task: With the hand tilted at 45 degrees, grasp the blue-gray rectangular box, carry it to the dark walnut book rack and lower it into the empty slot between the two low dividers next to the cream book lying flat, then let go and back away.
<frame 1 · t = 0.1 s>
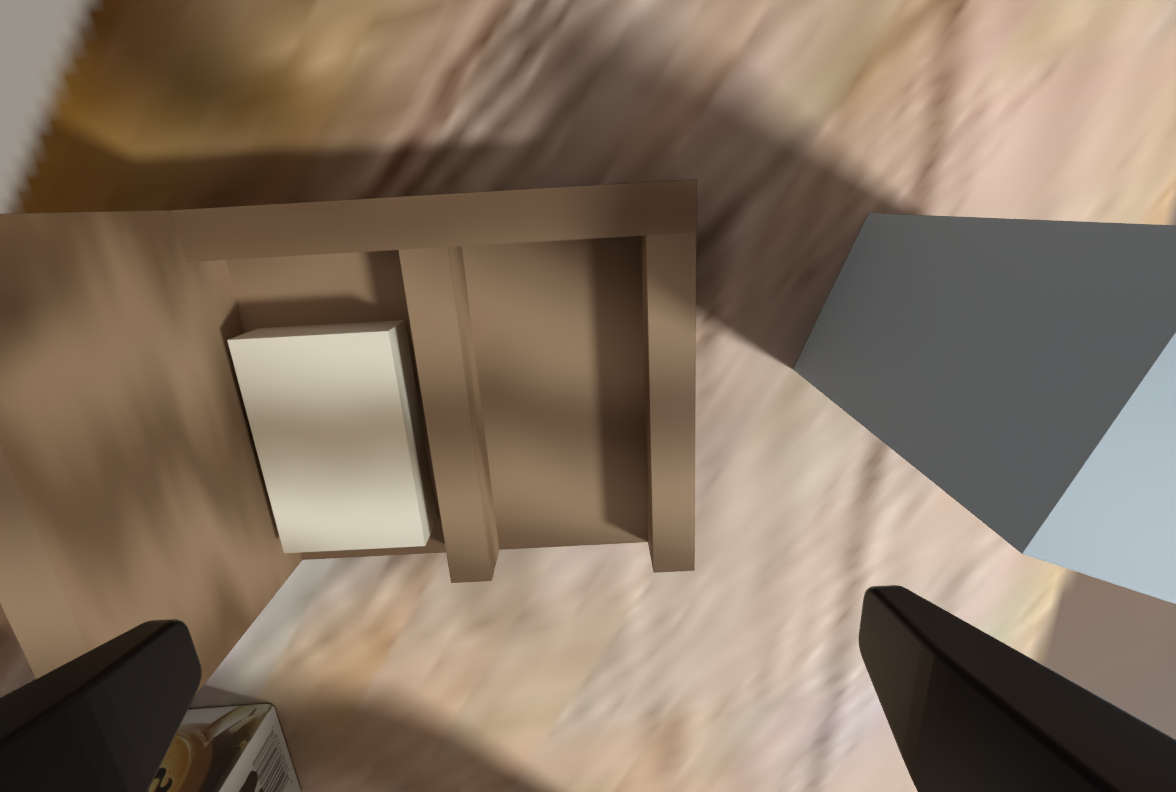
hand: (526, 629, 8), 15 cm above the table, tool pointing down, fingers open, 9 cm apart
book rack: (564, 409, 22), on the table
blue-gray rectangular box: (883, 314, 21), on the table
coffee box: (203, 752, 28), on the table
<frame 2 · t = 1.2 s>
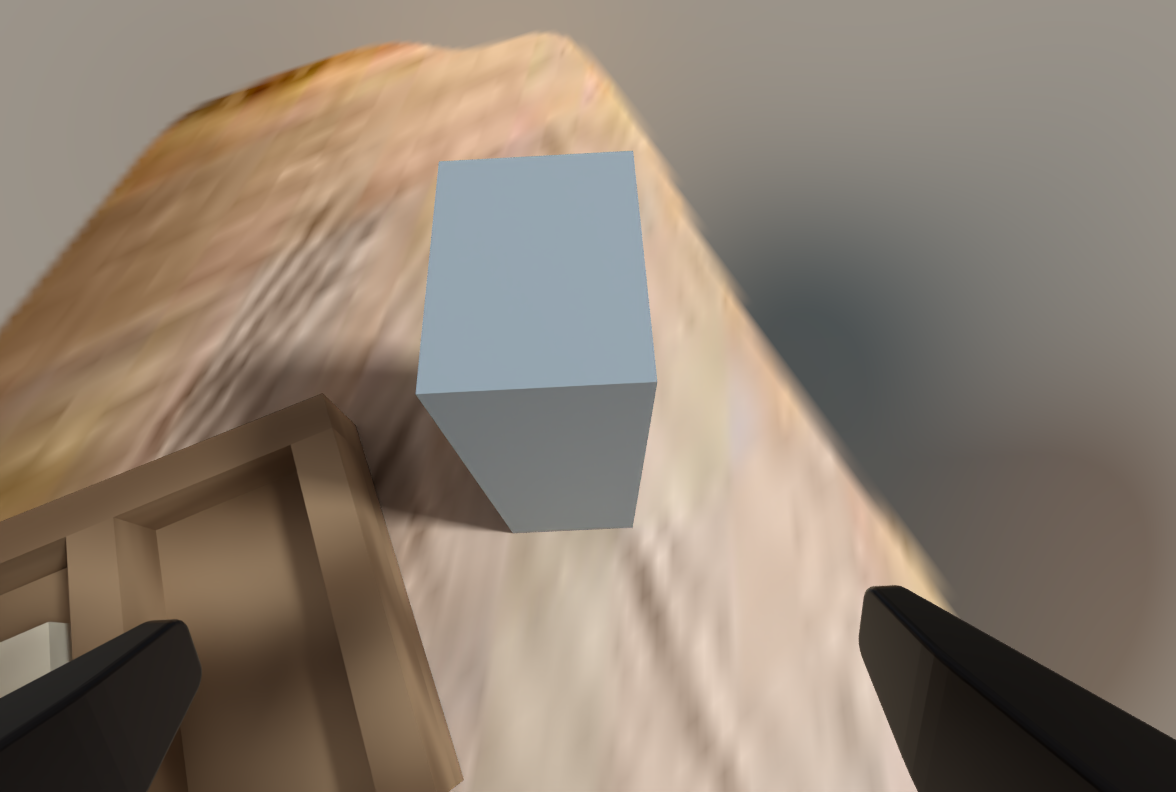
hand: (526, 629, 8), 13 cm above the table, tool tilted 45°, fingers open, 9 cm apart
book rack: (287, 671, 20), on the table
blue-gray rectangular box: (570, 454, 23), on the table
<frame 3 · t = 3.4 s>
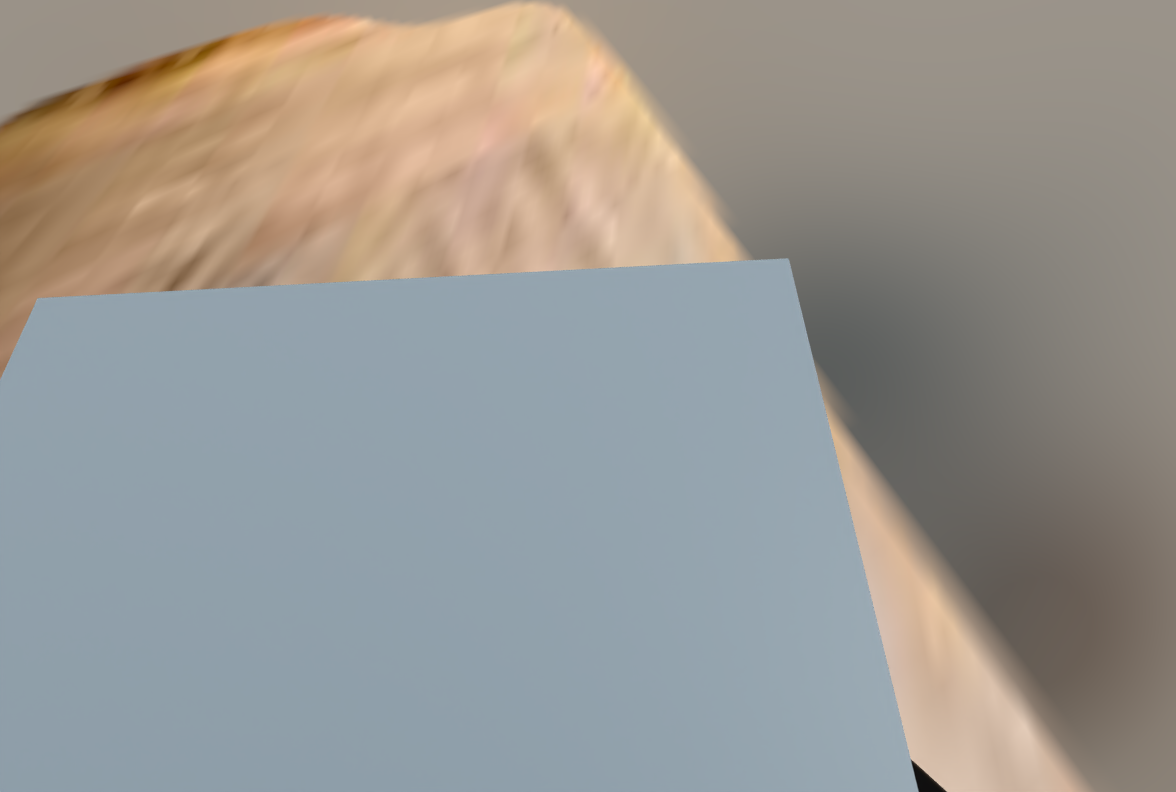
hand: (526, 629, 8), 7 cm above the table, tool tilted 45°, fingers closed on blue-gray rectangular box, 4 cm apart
blue-gray rectangular box: (563, 714, 13), on the table, touching gripper
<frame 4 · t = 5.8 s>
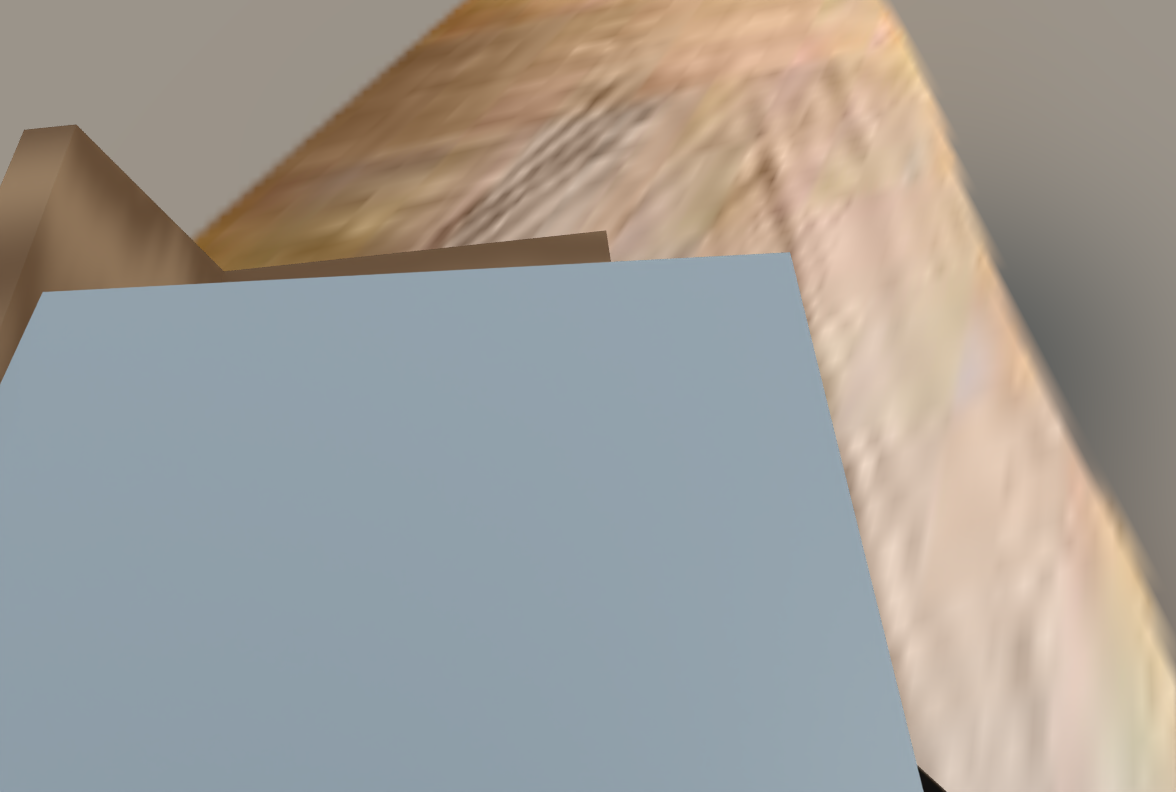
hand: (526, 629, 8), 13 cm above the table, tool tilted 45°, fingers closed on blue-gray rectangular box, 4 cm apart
book rack: (517, 452, 23), on the table
blue-gray rectangular box: (564, 713, 13), point 7 cm above the table, touching gripper
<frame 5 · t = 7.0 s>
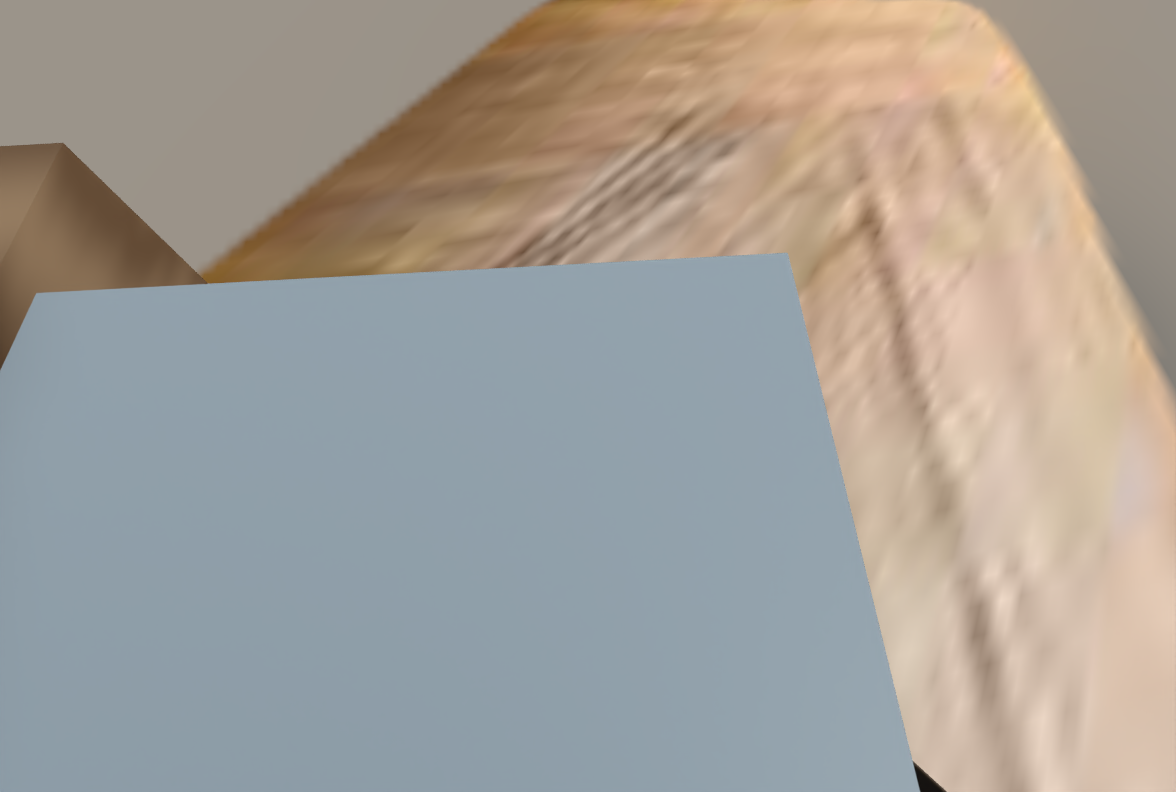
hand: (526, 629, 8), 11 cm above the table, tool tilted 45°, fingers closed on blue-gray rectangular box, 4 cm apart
book rack: (570, 552, 19), on the table
blue-gray rectangular box: (563, 714, 13), point 4 cm above the table, touching gripper
when the fingers open (8 cm above the table, at t = 8.2 s): blue-gray rectangular box stays where it is, resting on book rack.
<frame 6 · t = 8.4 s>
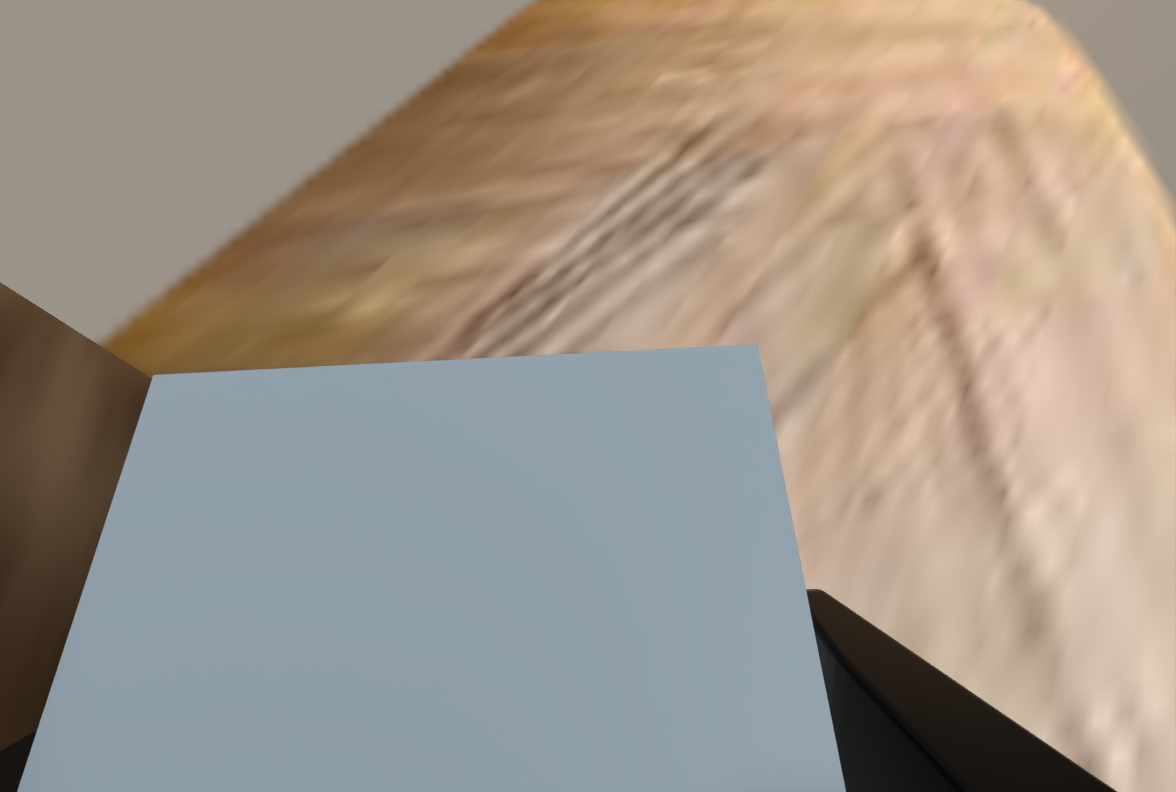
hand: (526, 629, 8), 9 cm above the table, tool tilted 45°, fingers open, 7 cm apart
book rack: (568, 686, 15), on the table
blue-gray rectangular box: (566, 712, 14), point 1 cm above the table, touching book rack
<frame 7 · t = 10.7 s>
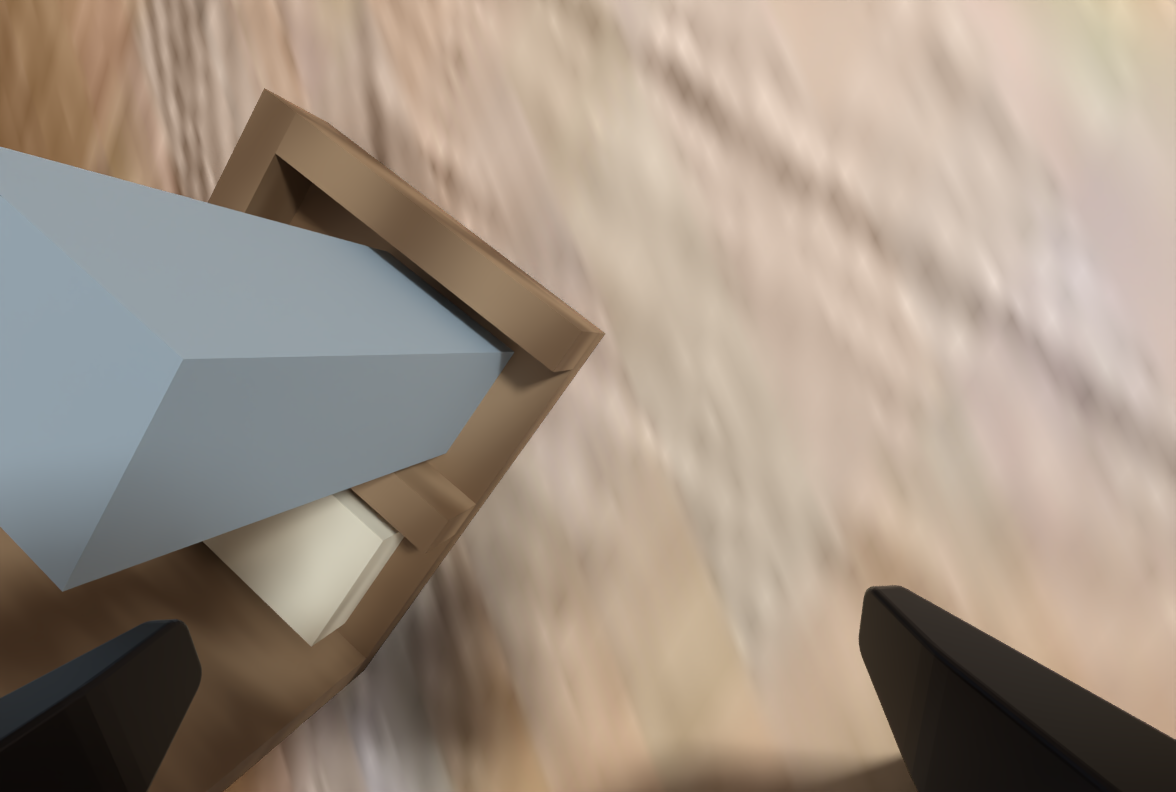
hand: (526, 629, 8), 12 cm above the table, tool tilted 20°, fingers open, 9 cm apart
book rack: (421, 343, 21), on the table
blue-gray rectangular box: (416, 352, 20), point 1 cm above the table, touching book rack
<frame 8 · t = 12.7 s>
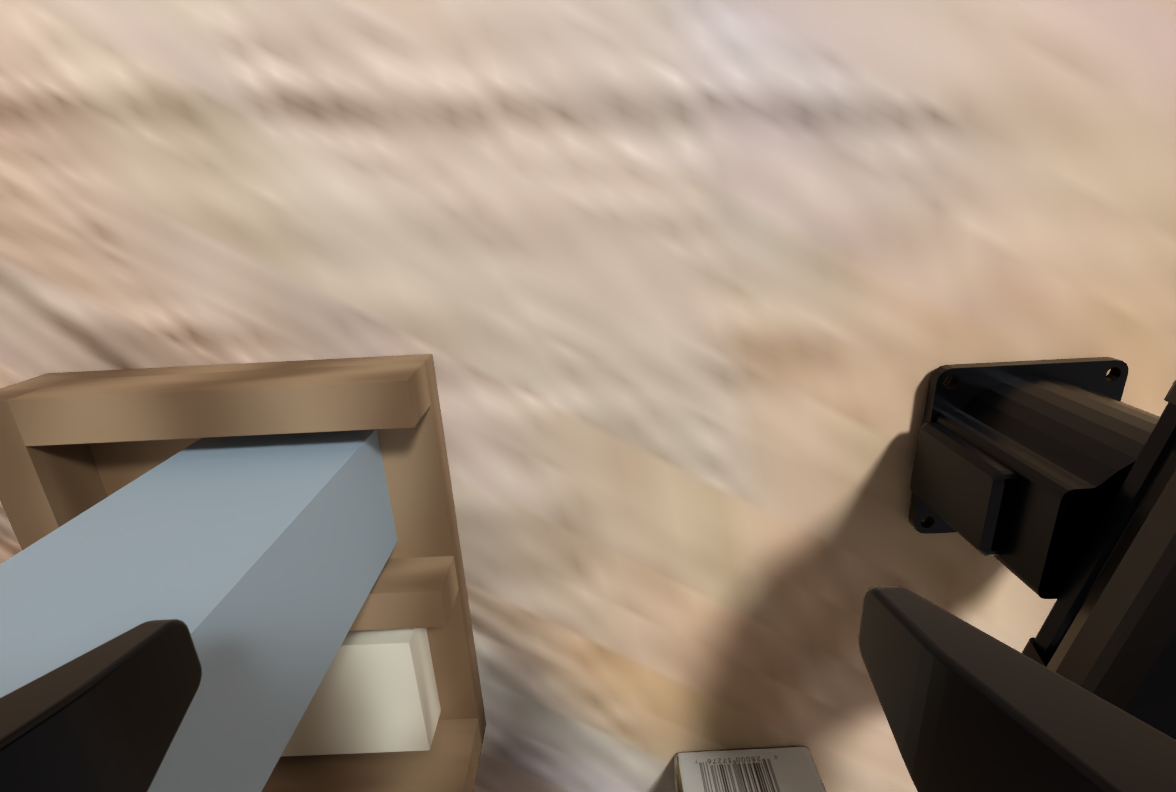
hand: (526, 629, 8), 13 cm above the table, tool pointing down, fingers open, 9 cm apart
book rack: (302, 478, 21), on the table
blue-gray rectangular box: (303, 490, 20), point 1 cm above the table, touching book rack
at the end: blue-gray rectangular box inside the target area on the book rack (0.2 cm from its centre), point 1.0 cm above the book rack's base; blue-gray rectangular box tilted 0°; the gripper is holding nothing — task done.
